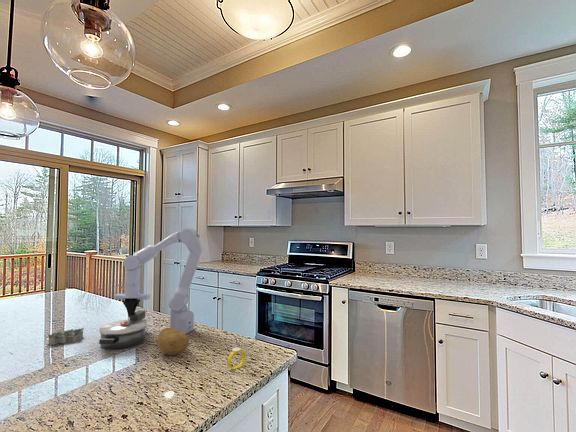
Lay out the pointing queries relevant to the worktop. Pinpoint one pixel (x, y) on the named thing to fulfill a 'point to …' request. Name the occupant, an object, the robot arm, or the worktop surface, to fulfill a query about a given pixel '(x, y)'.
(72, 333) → the egg carton
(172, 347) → the potato
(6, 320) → the worktop surface
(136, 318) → the lid
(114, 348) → the cooker pot
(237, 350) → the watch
